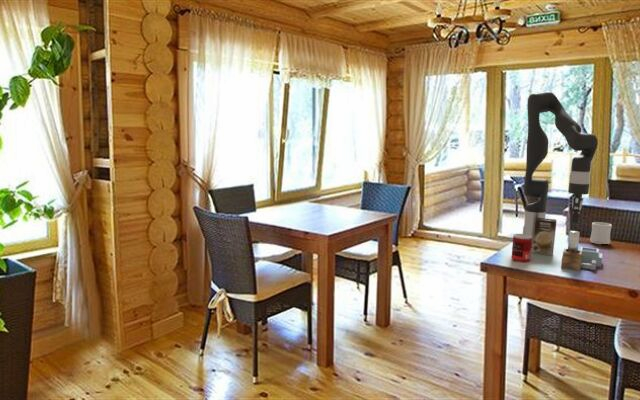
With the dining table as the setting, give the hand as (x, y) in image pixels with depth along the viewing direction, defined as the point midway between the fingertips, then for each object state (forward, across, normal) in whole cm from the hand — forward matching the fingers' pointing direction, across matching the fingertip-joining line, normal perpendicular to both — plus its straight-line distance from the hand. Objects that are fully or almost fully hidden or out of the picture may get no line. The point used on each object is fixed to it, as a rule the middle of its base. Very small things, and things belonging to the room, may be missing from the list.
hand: (575, 220), depth 206 cm
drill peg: (+15, 0, 0) cm, 15 cm away
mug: (+20, +56, -9) cm, 60 cm away
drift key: (+20, 0, -3) cm, 20 cm away
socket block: (+20, 0, 0) cm, 20 cm away
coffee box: (+20, +17, +13) cm, 29 cm away
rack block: (+20, +10, -6) cm, 23 cm away
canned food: (+20, -1, +20) cm, 28 cm away
